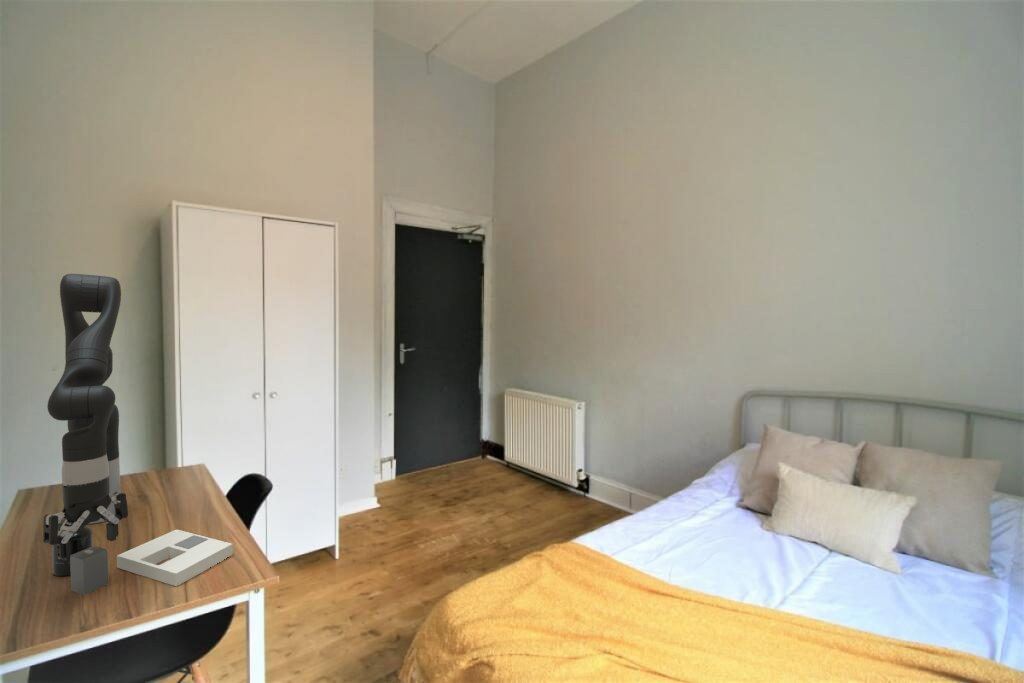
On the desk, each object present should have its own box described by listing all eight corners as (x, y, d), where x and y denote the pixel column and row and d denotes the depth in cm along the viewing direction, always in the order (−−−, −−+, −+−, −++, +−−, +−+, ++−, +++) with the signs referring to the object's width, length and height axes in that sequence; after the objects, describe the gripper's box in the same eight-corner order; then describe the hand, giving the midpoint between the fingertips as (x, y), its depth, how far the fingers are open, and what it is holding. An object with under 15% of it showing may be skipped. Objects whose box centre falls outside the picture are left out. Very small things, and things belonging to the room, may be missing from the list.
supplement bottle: (58, 580, 104) (56, 529, 103) (48, 571, 107) (46, 521, 107) (97, 566, 110) (95, 518, 109) (87, 557, 113) (85, 510, 112)
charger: (71, 590, 100) (69, 554, 100) (95, 579, 105) (94, 544, 104) (84, 595, 99) (83, 558, 98) (108, 583, 103) (107, 548, 103)
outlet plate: (117, 567, 109) (116, 554, 109) (176, 540, 123) (176, 528, 122) (176, 586, 103) (176, 572, 103) (232, 555, 116) (232, 543, 116)
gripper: (112, 465, 108) (114, 532, 109) (32, 486, 95) (36, 562, 96) (133, 469, 106) (136, 537, 107) (55, 491, 92) (59, 569, 93)
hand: (89, 549), depth 101 cm, fingers open, 8 cm apart
